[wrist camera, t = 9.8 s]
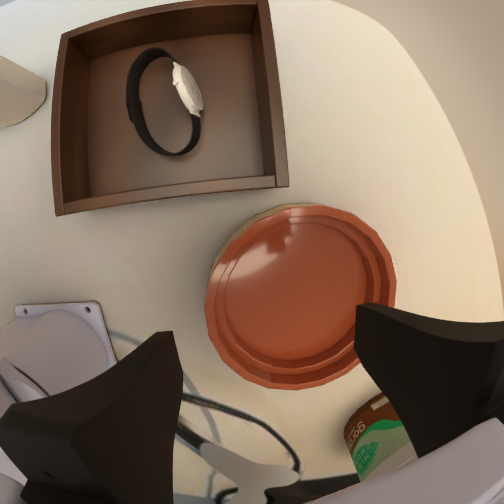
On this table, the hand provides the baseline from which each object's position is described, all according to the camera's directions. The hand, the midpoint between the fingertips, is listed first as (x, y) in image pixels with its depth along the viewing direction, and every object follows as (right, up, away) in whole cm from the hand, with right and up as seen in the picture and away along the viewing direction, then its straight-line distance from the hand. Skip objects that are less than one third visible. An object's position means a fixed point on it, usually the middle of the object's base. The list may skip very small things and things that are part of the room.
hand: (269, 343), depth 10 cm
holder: (-6, +13, +7) cm, 16 cm away
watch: (-6, +13, +6) cm, 16 cm away
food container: (+11, -15, +15) cm, 24 cm away
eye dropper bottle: (-20, +16, +5) cm, 26 cm away
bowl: (+3, 0, +10) cm, 11 cm away
